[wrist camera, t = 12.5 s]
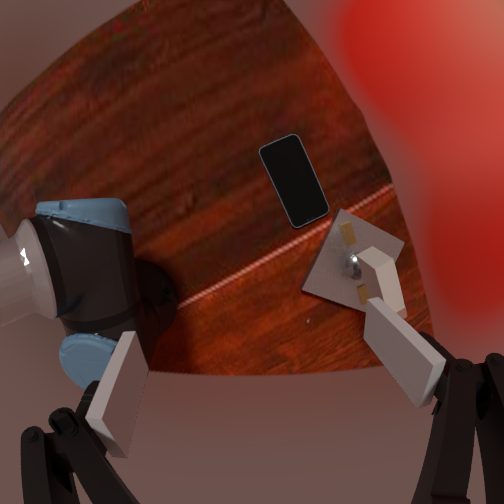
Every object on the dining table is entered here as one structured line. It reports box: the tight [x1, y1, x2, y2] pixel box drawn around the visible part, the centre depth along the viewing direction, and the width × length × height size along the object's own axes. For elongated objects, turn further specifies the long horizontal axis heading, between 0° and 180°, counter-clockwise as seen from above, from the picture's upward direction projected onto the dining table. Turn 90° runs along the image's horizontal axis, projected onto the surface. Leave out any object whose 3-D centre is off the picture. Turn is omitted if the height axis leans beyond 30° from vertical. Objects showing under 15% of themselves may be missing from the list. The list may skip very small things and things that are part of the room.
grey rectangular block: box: [356, 246, 407, 319], centre depth 43 cm, size 11×3×8 cm, turn 26°
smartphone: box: [259, 134, 329, 228], centre depth 48 cm, size 7×1×15 cm
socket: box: [300, 207, 405, 312], centre depth 51 cm, size 16×16×6 cm
